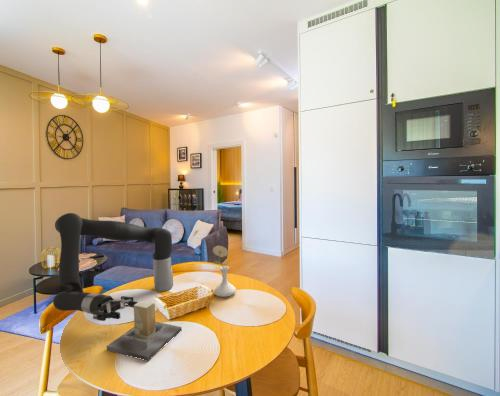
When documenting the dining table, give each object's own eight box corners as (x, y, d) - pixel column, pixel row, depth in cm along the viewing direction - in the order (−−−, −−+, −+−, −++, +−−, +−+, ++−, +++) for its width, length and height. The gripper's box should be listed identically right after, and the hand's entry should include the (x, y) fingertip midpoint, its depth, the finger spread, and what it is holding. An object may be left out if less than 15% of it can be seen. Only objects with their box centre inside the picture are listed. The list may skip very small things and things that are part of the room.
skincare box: (134, 337, 92) (132, 305, 92) (143, 331, 97) (141, 299, 96) (148, 341, 90) (146, 307, 89) (156, 334, 94) (155, 302, 94)
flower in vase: (240, 292, 132) (239, 244, 131) (227, 300, 123) (225, 250, 121) (221, 287, 139) (219, 242, 138) (207, 295, 130) (205, 247, 128)
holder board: (145, 322, 105) (144, 314, 105) (181, 330, 99) (181, 321, 99) (106, 350, 88) (106, 340, 88) (148, 361, 82) (147, 351, 82)
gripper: (79, 303, 94) (112, 309, 89) (112, 288, 108) (142, 292, 102) (80, 322, 95) (113, 330, 89) (113, 305, 108) (143, 310, 103)
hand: (128, 310), depth 96 cm, fingers open, 8 cm apart
